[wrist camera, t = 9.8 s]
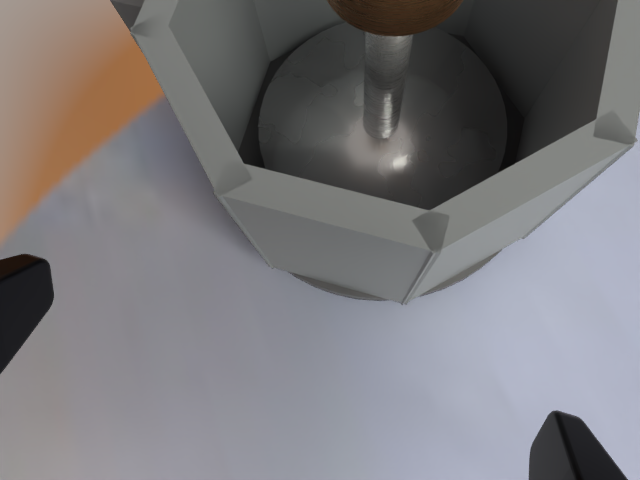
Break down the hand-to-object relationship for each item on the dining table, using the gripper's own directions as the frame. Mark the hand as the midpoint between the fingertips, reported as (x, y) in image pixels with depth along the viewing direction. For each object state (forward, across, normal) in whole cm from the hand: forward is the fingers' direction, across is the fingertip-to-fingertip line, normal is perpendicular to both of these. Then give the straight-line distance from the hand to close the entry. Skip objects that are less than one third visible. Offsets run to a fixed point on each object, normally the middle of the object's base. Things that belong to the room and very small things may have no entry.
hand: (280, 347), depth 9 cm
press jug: (+12, 0, 0) cm, 12 cm away
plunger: (+11, 0, 0) cm, 11 cm away
